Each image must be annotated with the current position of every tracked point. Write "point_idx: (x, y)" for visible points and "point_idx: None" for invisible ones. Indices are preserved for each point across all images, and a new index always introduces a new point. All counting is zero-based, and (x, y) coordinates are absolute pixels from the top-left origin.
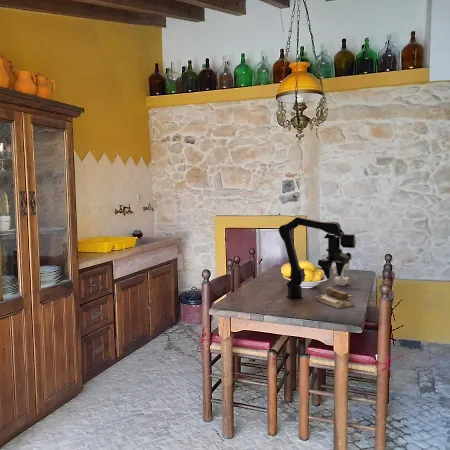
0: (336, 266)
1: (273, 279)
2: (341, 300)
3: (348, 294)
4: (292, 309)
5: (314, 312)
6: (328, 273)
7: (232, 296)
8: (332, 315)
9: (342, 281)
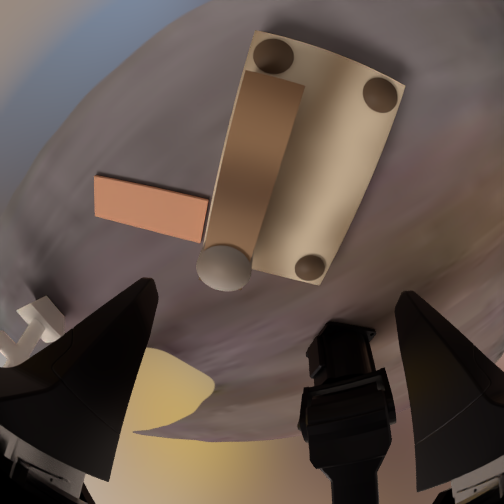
0: (120, 424)
1: (198, 427)
2: (305, 102)
3: (246, 70)
4: (491, 254)
5: (500, 161)
6: (472, 343)
7: (406, 406)
8: (494, 69)
9: (44, 310)
